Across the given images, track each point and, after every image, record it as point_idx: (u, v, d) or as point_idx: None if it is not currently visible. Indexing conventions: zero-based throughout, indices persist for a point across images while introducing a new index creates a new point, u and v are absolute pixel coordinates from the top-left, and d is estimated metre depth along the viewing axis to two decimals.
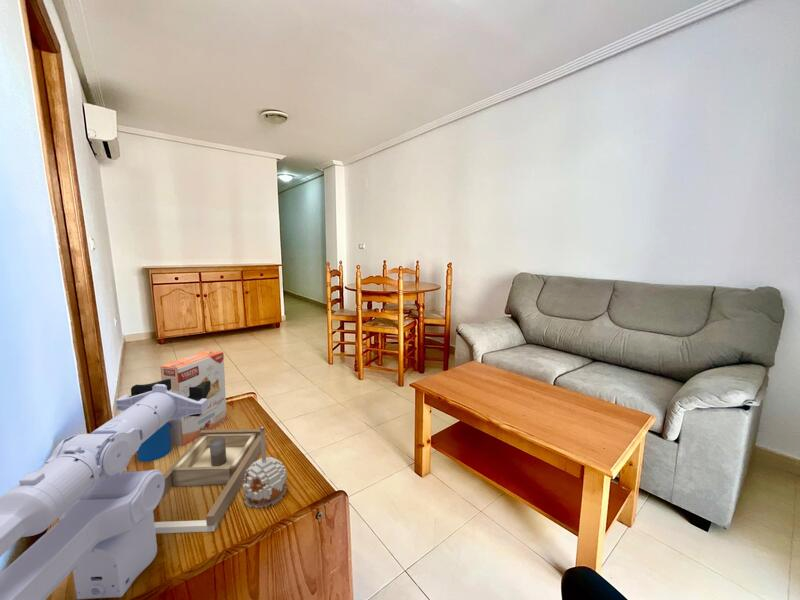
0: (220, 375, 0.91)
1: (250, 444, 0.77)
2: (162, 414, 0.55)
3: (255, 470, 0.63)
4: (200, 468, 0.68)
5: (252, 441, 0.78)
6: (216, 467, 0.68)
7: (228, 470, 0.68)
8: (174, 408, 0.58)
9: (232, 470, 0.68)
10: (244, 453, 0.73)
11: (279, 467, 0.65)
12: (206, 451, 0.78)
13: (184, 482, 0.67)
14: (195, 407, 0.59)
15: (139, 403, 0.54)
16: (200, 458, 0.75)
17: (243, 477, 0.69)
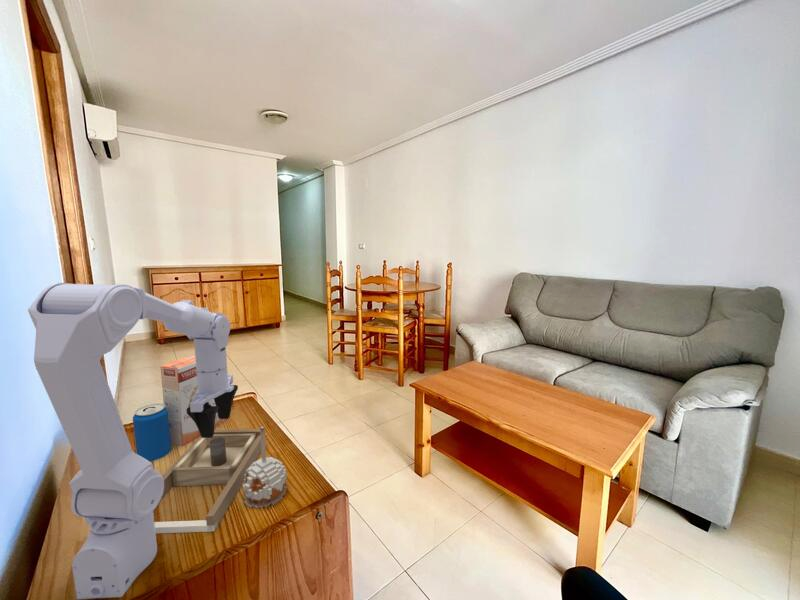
0: None
1: (250, 444, 0.77)
2: (209, 376, 0.68)
3: (255, 470, 0.63)
4: (200, 468, 0.68)
5: (252, 441, 0.78)
6: (216, 467, 0.68)
7: (228, 470, 0.68)
8: (207, 390, 0.69)
9: (232, 470, 0.68)
10: (244, 453, 0.73)
11: (279, 467, 0.65)
12: (206, 451, 0.78)
13: (184, 482, 0.67)
14: (199, 400, 0.66)
15: (226, 368, 0.71)
16: (200, 458, 0.75)
17: (243, 477, 0.69)
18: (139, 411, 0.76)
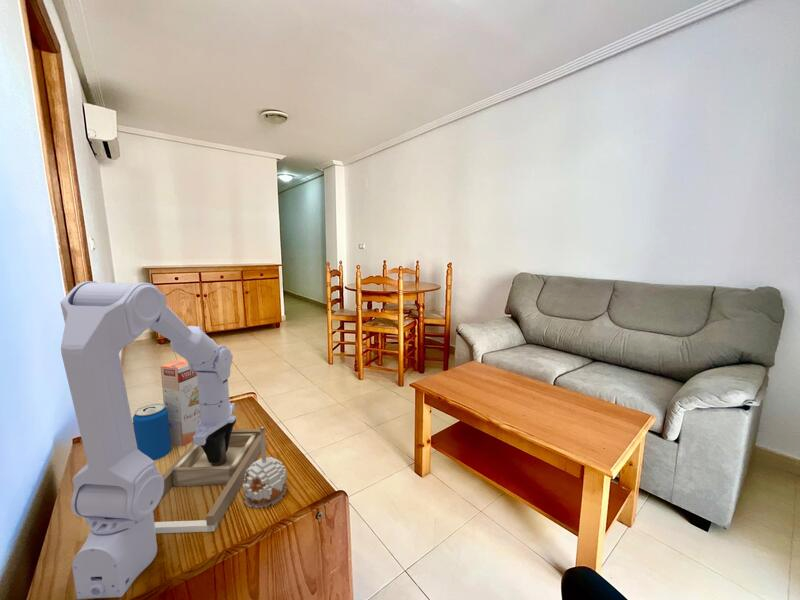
0: None
1: (250, 444, 0.77)
2: (211, 408, 0.69)
3: (255, 470, 0.63)
4: (200, 468, 0.68)
5: (252, 441, 0.78)
6: (216, 467, 0.68)
7: (228, 470, 0.68)
8: (209, 422, 0.70)
9: (232, 470, 0.68)
10: (244, 453, 0.73)
11: (279, 467, 0.65)
12: None
13: (184, 482, 0.67)
14: (201, 433, 0.67)
15: (228, 399, 0.72)
16: (200, 458, 0.75)
17: (243, 477, 0.69)
18: (139, 411, 0.76)
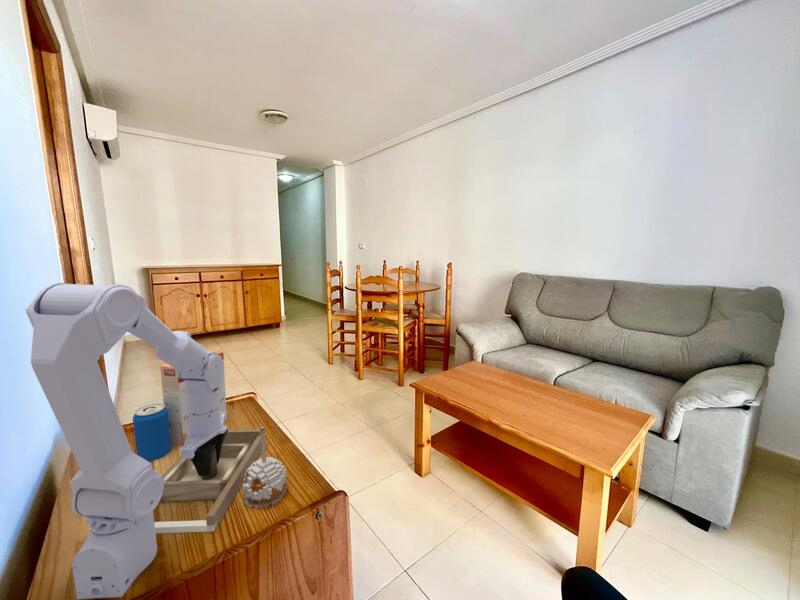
0: None
1: (243, 455, 0.73)
2: (200, 419, 0.65)
3: (255, 470, 0.63)
4: (188, 482, 0.63)
5: (245, 452, 0.74)
6: (205, 481, 0.64)
7: (219, 485, 0.64)
8: (198, 433, 0.66)
9: (223, 484, 0.64)
10: (236, 465, 0.69)
11: (279, 467, 0.65)
12: None
13: (171, 497, 0.63)
14: (189, 446, 0.62)
15: (219, 408, 0.68)
16: (190, 470, 0.71)
17: (243, 477, 0.69)
18: (139, 411, 0.76)
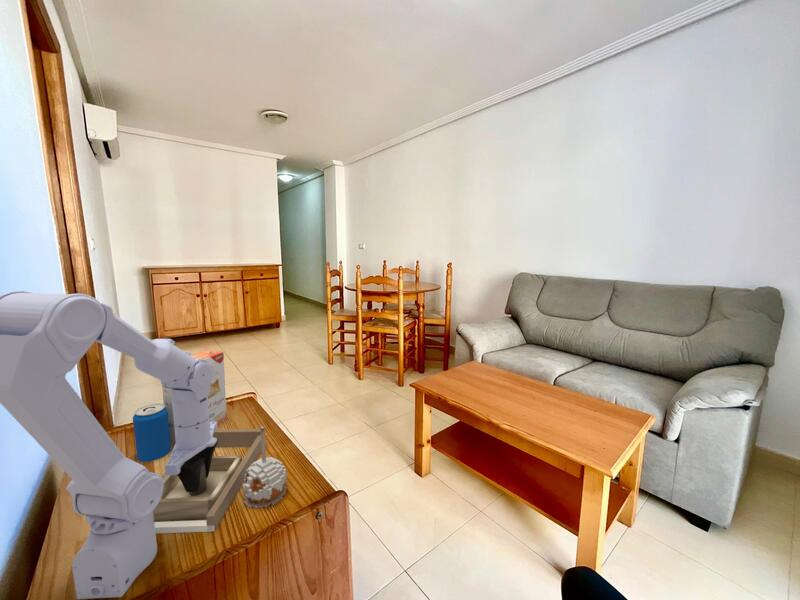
0: (220, 375, 0.91)
1: (234, 469, 0.68)
2: (187, 431, 0.61)
3: (255, 470, 0.63)
4: (174, 500, 0.59)
5: (236, 465, 0.69)
6: (193, 499, 0.59)
7: (207, 502, 0.59)
8: (185, 447, 0.61)
9: (211, 502, 0.59)
10: (226, 480, 0.65)
11: (279, 467, 0.65)
12: None
13: (156, 516, 0.59)
14: (175, 461, 0.58)
15: (208, 419, 0.64)
16: (177, 485, 0.67)
17: (243, 477, 0.69)
18: (139, 411, 0.76)
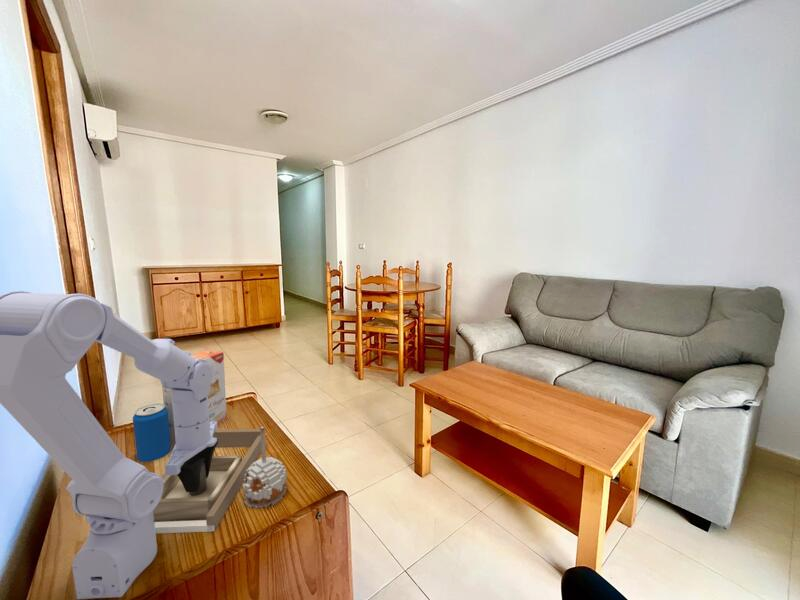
0: (220, 375, 0.91)
1: (234, 469, 0.68)
2: (187, 431, 0.61)
3: (255, 470, 0.63)
4: (174, 500, 0.59)
5: (236, 465, 0.69)
6: (193, 499, 0.59)
7: (207, 502, 0.59)
8: (185, 447, 0.61)
9: (211, 502, 0.59)
10: (226, 480, 0.65)
11: (279, 467, 0.65)
12: None
13: (156, 516, 0.59)
14: (175, 461, 0.58)
15: (208, 419, 0.64)
16: (177, 485, 0.67)
17: (243, 477, 0.69)
18: (139, 411, 0.76)
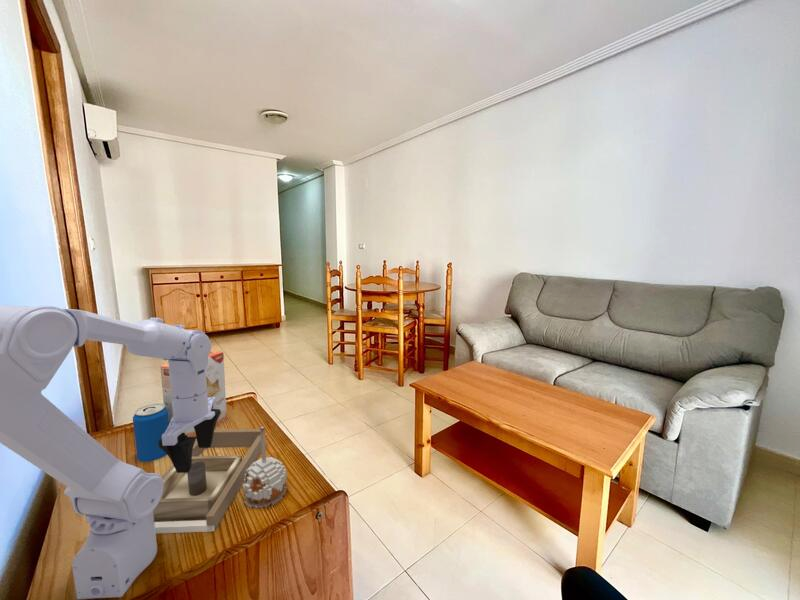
0: (220, 375, 0.91)
1: (234, 469, 0.68)
2: (185, 403, 0.60)
3: (255, 470, 0.63)
4: (174, 500, 0.59)
5: (236, 465, 0.69)
6: (193, 499, 0.59)
7: (207, 502, 0.59)
8: (183, 419, 0.60)
9: (211, 502, 0.59)
10: (226, 480, 0.65)
11: (279, 467, 0.65)
12: (185, 476, 0.69)
13: (156, 516, 0.59)
14: (172, 432, 0.57)
15: (206, 392, 0.63)
16: (177, 485, 0.67)
17: (243, 477, 0.69)
18: (139, 411, 0.76)
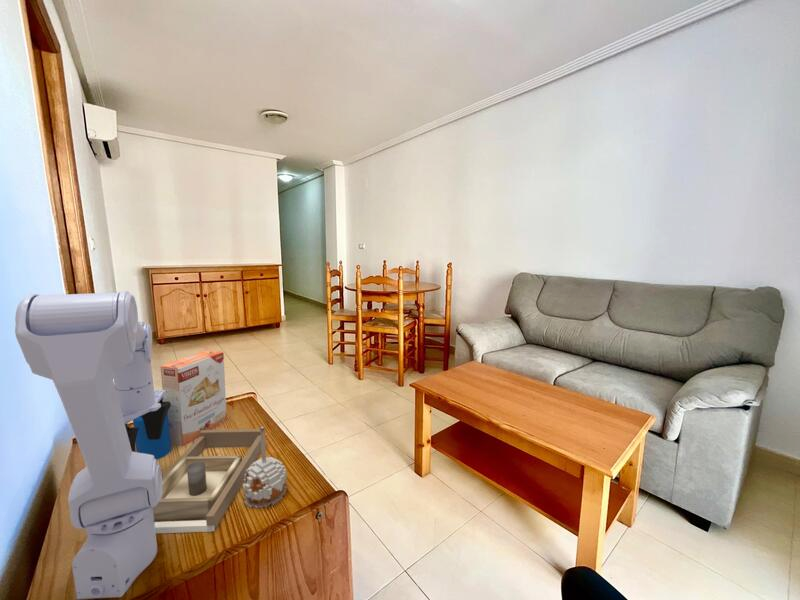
0: (220, 375, 0.91)
1: (234, 469, 0.68)
2: (127, 394, 0.61)
3: (255, 470, 0.63)
4: (174, 500, 0.59)
5: (236, 465, 0.69)
6: (193, 499, 0.59)
7: (207, 502, 0.59)
8: (126, 410, 0.61)
9: (211, 502, 0.59)
10: (226, 480, 0.65)
11: (279, 467, 0.65)
12: (185, 476, 0.69)
13: (156, 516, 0.59)
14: None
15: (151, 384, 0.64)
16: (177, 485, 0.67)
17: (243, 477, 0.69)
18: None
